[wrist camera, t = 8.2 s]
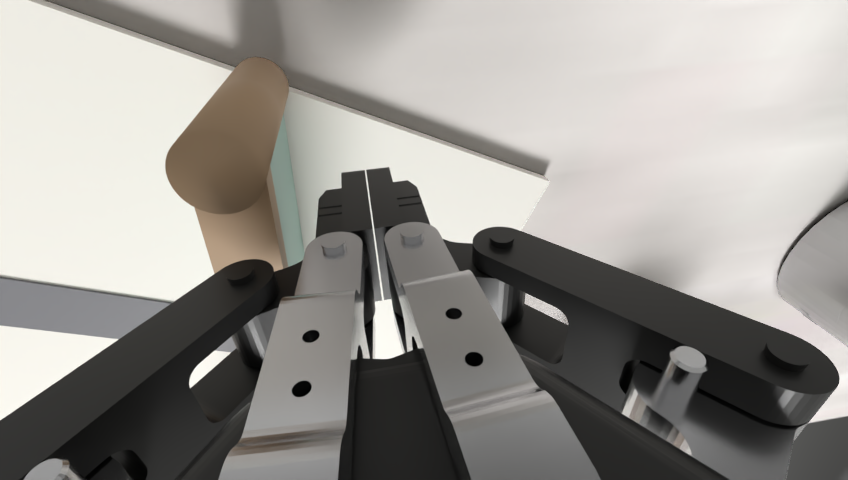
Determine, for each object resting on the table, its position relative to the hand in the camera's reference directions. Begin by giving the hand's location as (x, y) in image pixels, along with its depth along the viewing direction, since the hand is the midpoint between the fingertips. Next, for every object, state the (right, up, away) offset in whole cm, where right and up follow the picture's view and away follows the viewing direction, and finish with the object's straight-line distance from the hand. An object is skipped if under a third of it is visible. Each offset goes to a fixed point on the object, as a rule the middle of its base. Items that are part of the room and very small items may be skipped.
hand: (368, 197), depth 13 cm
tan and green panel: (-4, -1, +4) cm, 6 cm away
